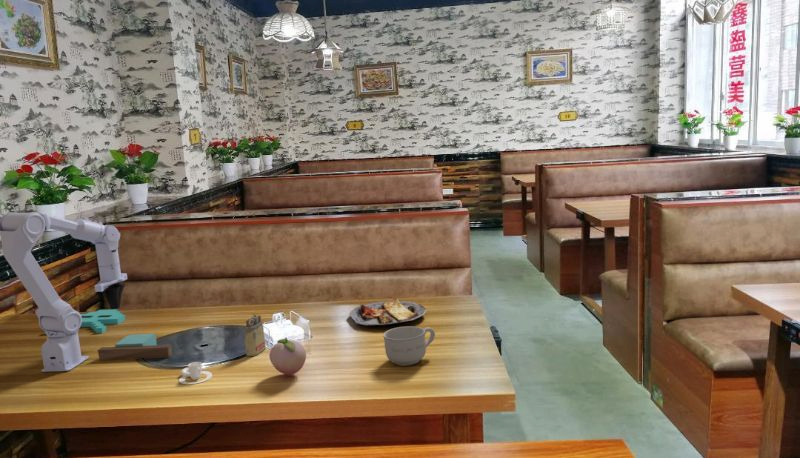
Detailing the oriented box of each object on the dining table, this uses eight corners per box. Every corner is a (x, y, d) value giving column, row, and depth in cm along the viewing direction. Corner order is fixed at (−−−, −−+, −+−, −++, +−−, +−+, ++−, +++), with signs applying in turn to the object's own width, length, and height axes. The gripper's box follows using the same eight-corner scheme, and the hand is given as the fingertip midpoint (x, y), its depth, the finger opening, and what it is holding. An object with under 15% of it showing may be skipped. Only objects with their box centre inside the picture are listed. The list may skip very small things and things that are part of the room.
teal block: (144, 356, 167) (142, 343, 166) (116, 358, 167) (114, 344, 167) (157, 346, 175) (155, 333, 174) (130, 347, 175) (128, 334, 174)
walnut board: (168, 357, 164) (167, 347, 164) (99, 360, 165) (97, 350, 165) (171, 354, 166) (170, 344, 166) (103, 357, 167) (101, 347, 167)
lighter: (254, 357, 161) (251, 322, 159) (242, 356, 162) (238, 321, 160) (268, 347, 167) (264, 313, 166) (256, 346, 169) (252, 313, 167)
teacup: (391, 372, 145) (389, 341, 144) (380, 357, 155) (378, 328, 154) (444, 363, 149) (442, 333, 147) (430, 349, 159) (429, 320, 158)
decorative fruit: (315, 374, 147) (311, 336, 145) (287, 386, 141) (283, 346, 139) (293, 365, 153) (290, 328, 152) (266, 375, 148) (262, 337, 146)
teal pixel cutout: (102, 334, 189) (135, 314, 209) (101, 327, 189) (135, 308, 209) (44, 335, 191) (83, 316, 211) (43, 329, 191) (82, 310, 211)
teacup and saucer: (179, 375, 152) (177, 360, 152) (211, 369, 155) (209, 354, 154) (179, 388, 144) (177, 372, 143) (213, 382, 147) (211, 366, 146)
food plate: (343, 312, 197) (342, 302, 196) (409, 302, 203) (409, 292, 203) (361, 336, 173) (360, 324, 172) (435, 323, 180) (435, 312, 179)
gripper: (109, 269, 169) (115, 315, 171) (134, 258, 183) (139, 300, 185) (85, 271, 169) (92, 316, 172) (112, 259, 184) (118, 301, 186)
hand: (115, 308), depth 179 cm, fingers closed
